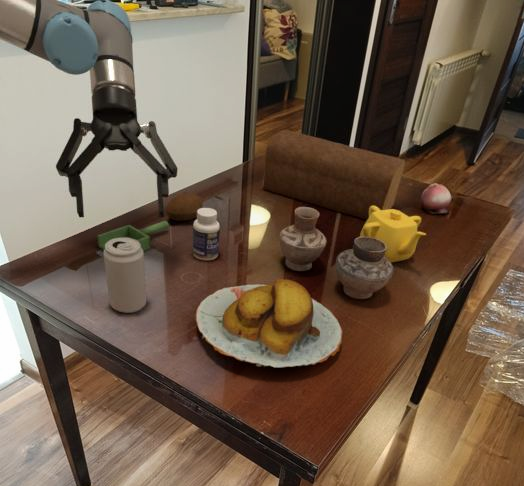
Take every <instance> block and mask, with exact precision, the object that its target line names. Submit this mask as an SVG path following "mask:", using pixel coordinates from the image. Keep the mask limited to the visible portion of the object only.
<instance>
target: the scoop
mask: <svg viewBox="0 0 524 486" xmlns="http://www.w3.org/2000/svg"><path fill="white" fill-rule="evenodd" d="M168 228H169V222H168V221H167V220H163V221H160V222H157V223H155V224H152V225H148V226H146V227H144V228H141V229H137V228H136V227H134V226H132V225H131V224H126V225H124V226H120V227H117V228H115V229H112V230H110V231H106V232H103V233H100V234H97V235H96V236H97V237H96V238H97V244H98V245H97V246H98V248H100V249H101V250H103V251H104V250H105V244H106V243H107V242H108V241H110V240H112V239H115V238H121V237H125V238H132V239H135V240H137V241H138V242H139V243H140V245H141V248H142V250H143V252H144V251H146V250H149V249H151V236H149V235H152V234H155V233H157V232H160V231H162V230H165V229H168Z"/></svg>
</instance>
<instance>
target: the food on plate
mask: <svg viewBox="0 0 524 486" xmlns="http://www.w3.org/2000/svg"><path fill="white" fill-rule="evenodd" d="M194 314H195V317H194V319H195V322H196V327H197V328H198V331H199V332H200V333H201V334H202V336H201V339H205V341H206V342H207V343H208V344H210V345H211V346H212V347H213V349H214V351H217V352H218V353H220V356H222V355H224V356H228V357H233V358H235V359H236V360H238V361H241V362H245V363H250V364H255V366H256V367H258V368H259V367H262V366H263V367H269V366H270V367H273V368H287V367H290V368H293V367H296V366H297V367H301V366H309V365H313V366H315V365H316V364H317V363H323V362H324V361H327V360H328V359H329V357H330V356H332V357H334V356H335V355H336V354H337V352H339V351H340V347H341V344H342V343H343V333H344V330H343V328H342V326H341V324H340V323H339V320H338V319H337V318H336V317H335V315H334V313H332V311H331V310H330V309H329V308H327V307H325V306H324V305H323V304H322V303H320V302H318V301H317V300H316V299H314V298H312V297H311V294H310V293H309V291H308V290H307V289H306V288H305V287H304V285H302V284H300V283H298V282H296V281H294V280H291V279H288V278H284V279H282V278H277V279H275V280H274V282H273V284H257V283H256V284H245V285H237V286H230V287H227V286H226V287H223V288H220V289H217V290H216V291H214V292H212V294H209V295H208V296H206V297H205V298H204V299H203V300H200V302H199V304H198V306H197V307H196V310H195V313H194Z"/></svg>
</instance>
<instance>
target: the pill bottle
mask: <svg viewBox="0 0 524 486" xmlns="http://www.w3.org/2000/svg"><path fill="white" fill-rule="evenodd" d="M192 225H193V226H192V255H193V257H194V258H196V259H197V260H200V261H206V262H207V261H213V260H215V259H216V258H218V256H219V247H220V233H221V231H220V230H221V225H220V223H219V221H218V212H217V210H216V209H214V208H212V207H203V208H200V209H198V210H197V217H196V218H195V219H194V222H193V224H192Z"/></svg>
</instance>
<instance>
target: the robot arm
mask: <svg viewBox="0 0 524 486" xmlns="http://www.w3.org/2000/svg"><path fill="white" fill-rule="evenodd" d="M130 22H131V21H130V17H129V15H128V13H127V11H125V9H124V8H123V7H122V6H120V5H119V4H117V3H116V2H113V1H111V0H106V1H102V0H96V1H94V2H92V3H90V4H89V5H88V7H87V9H83V8H79V7H76V6H74V5H71V4H68V3H66V2H63V1H61V0H0V40H1V41H4V42H6V43H8V44H11V45H12V46H15V47H16V48H19V49H22V50H24V51H26V52H28V54H29V53H30V54H32V55H34V56H36V57H38V58H40V59H42V60H45V61H47V62H49V63H50V64H51V65H53V66H54V67H55V68H56V69H57V70H59V71H62V72H64V73H66V74H69V75H72V76H73V75H74V76H75V75H76V76H78V75H83V74H85V73H87V72H89V77H90V78H89V79H90V92H91V107H92V109H91V111H92V120H91V122H86V121H82V120H81V119H80V118H78V117H76V118H74V119H73V125H72V127H73V129H72V131H71V134H70V136H69V138H68V140H67V142H66V144H65V146H64V148H63V150H62V151H61V154H60V156H59V159H58V160H57V161H56V165H55V169H56V171H57V174H58V175H59V176H60V177H65V178H68V180H67V181H68V192H69V194H70V196H71V198H75V201H76V203H75V204H76V213H77V215H78V217H79V218H85V211H84V196H83V193H84V192H83V180H82V177H81V174H82V173H83V172H84V171H85V170H86V169H87V167H88V166H89V165H90V164H91V163H92V162H93V160H95V158H96V157H97V156H98V155H99V154H101V153H102V152H103V151H104V149H107V150H108V151H122V152H127V151H128V150H129V149H130V150H131V151H132V152H133V153H134V154H135V155H137V156H138V157H139V158H140V159H141V160H142V161H143V162H144V163H145V164H146V166H148V167H149V168H150V170H151V171H152V172H153V173H154V174H155V175H156V187H157V188H156V189H157V191H156V192H157V204H158V206H157V207H158V217H159V218H164V217H165V216H164V215H165V209H164V208H165V207H164V198H169V195H170V190H169V188H170V187H169V180H170V179H171V178H177V176H178V166H177V164H176V163H175V161H174V159H173V157H172V156H171V154H170V152H169V151H168V149H167V148H166V146H165V144H164V142H163V140H162V139H161V137H160V136H159V134H158V129H157V125H156V122H154V121H153V120H150V121H149V122H148V123H147V124H140V123H139V121H138V109H137V99H136V82H135V70H134V53H133V43H134V42H133V41H134V40H133V34H132V27H131V26H132V25H131V23H130ZM89 132H91V133H92V134H93V137H92V139H91V141H90V143H89V144H88V145H87V146H86V147H85V148H84V150H83V151H82V152H81V153H80V154H79V155H78V157H77V158H76V159H75V160H74V158H75V156H76V154H77V152H78V150H79V148H80V146H81V144H82V141H83V138H84V137H86V136H87V135H88V133H89ZM141 134H144V136H145V138H147V139H149V141H150V143H151V145H152V147H153V148H154V150H155V152H156V153H157V155H158V157H159V159H160V160H161V162H162V164H161V162H160V161H159V160H158V159H157V158H156V157H155V156H154V155H153V154H152V153H151V152H150V151H149V150H148V149H147V147H146V146H145V145H144V144H143V143H142V141H141V140H140V139H139V137H140V136H141ZM73 160H74V161H73Z"/></svg>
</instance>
